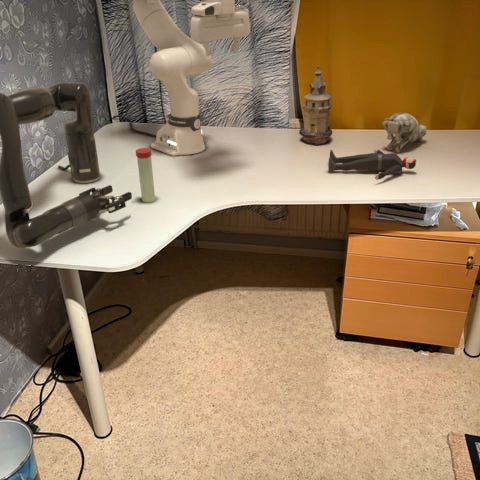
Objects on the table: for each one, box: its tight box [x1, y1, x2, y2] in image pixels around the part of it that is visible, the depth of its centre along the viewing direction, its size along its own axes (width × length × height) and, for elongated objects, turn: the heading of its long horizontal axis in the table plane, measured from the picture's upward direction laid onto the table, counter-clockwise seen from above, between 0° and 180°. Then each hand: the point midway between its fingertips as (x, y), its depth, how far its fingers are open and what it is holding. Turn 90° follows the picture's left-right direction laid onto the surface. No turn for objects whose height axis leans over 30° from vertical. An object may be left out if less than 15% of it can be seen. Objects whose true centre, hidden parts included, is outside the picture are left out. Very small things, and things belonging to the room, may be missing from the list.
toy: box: [327, 149, 417, 181], centre depth 190 cm, size 26×6×30 cm
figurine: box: [381, 112, 428, 153], centre depth 209 cm, size 10×19×20 cm
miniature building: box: [298, 65, 333, 145], centre depth 213 cm, size 13×14×30 cm
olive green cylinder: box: [136, 155, 156, 203], centre depth 169 cm, size 4×4×16 cm
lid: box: [135, 147, 153, 158], centre depth 165 cm, size 5×5×2 cm
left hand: (121, 191), depth 162 cm, fingers open, 8 cm apart
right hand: (221, 54), depth 171 cm, fingers open, 8 cm apart
